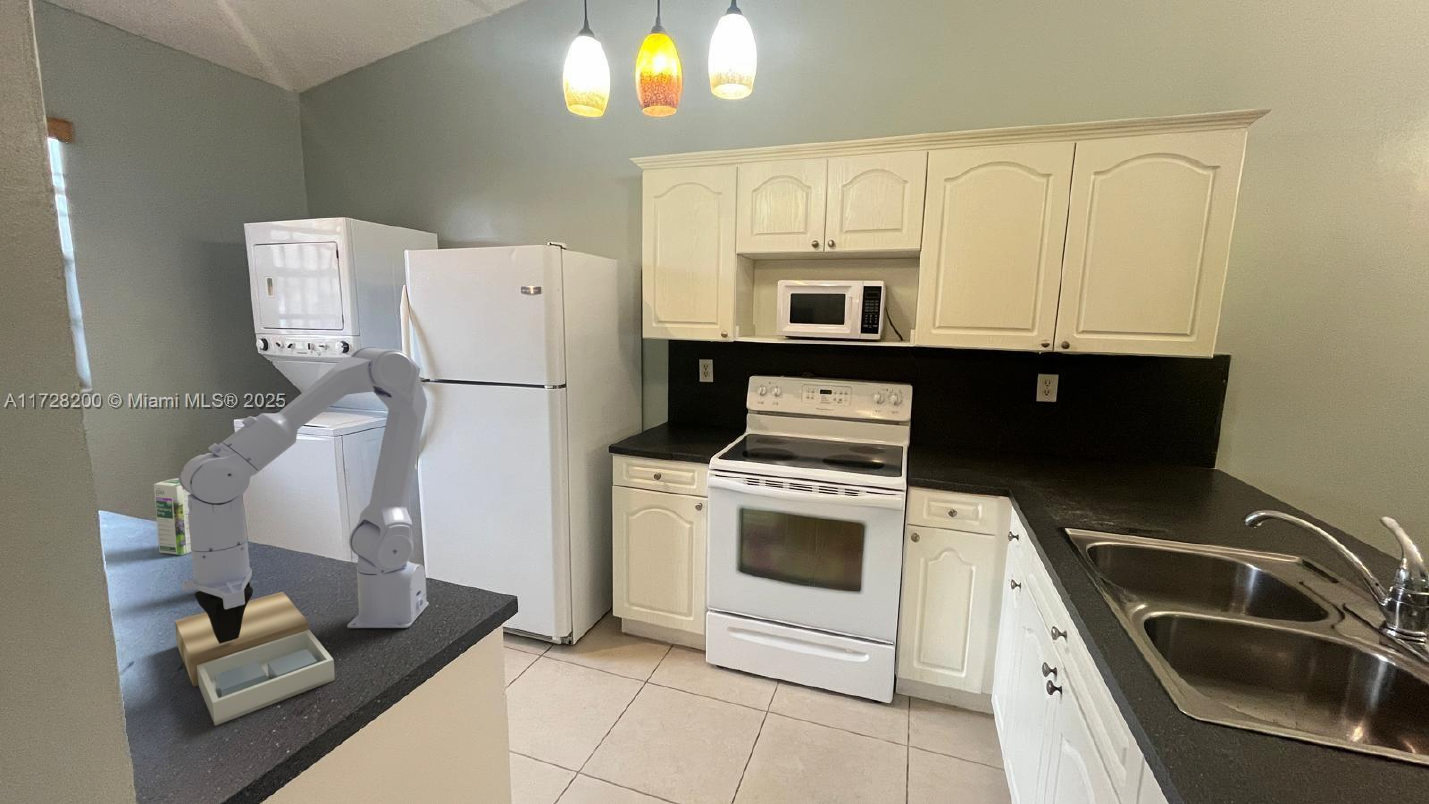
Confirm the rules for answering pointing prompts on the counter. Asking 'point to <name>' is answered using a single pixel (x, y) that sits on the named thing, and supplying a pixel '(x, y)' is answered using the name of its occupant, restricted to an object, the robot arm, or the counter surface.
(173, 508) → the syrup box
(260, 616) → the maple bench
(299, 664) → the slate tile
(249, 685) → the slate tile
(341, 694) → the counter surface
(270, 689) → the tray
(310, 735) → the counter surface
